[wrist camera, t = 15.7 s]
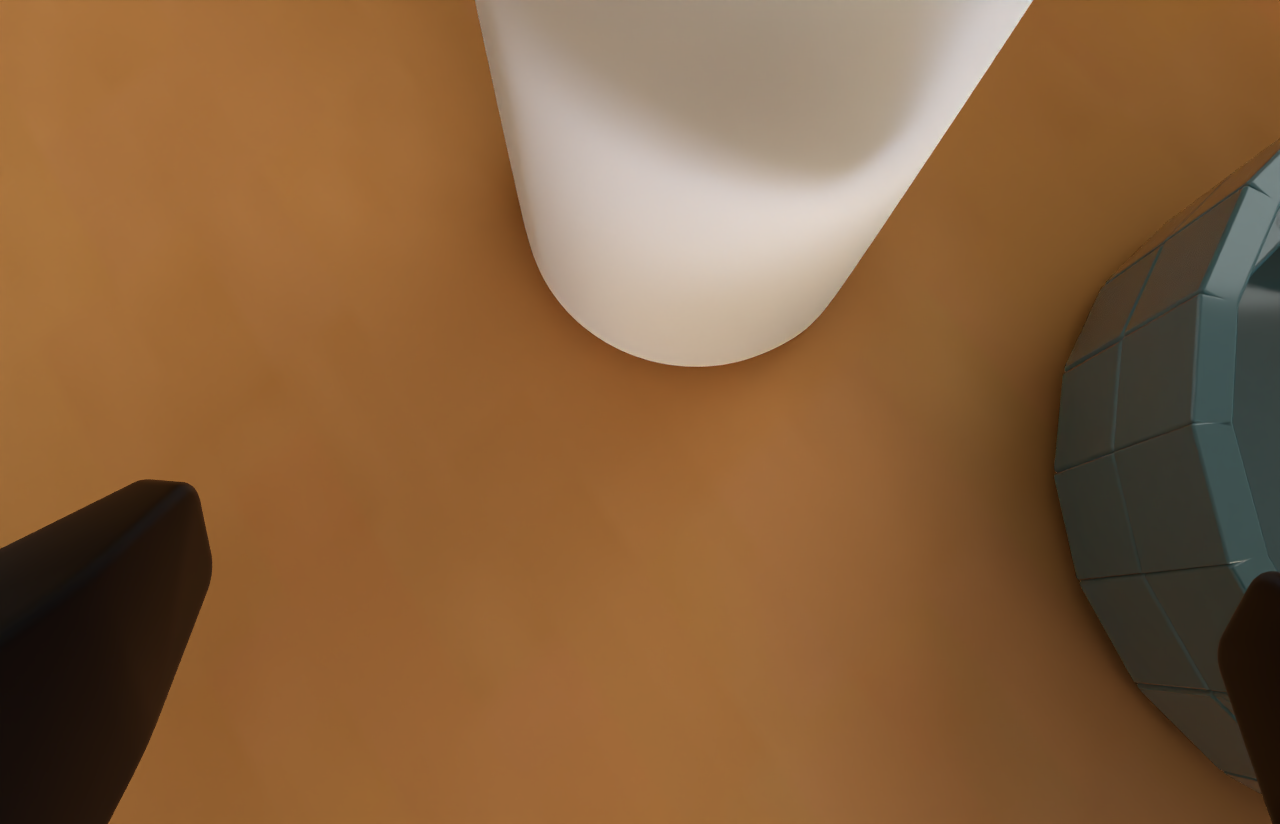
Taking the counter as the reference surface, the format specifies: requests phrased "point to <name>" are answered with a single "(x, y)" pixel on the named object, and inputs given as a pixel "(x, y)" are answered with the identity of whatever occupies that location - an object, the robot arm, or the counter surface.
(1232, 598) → the bowl
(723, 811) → the counter surface
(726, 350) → the can
